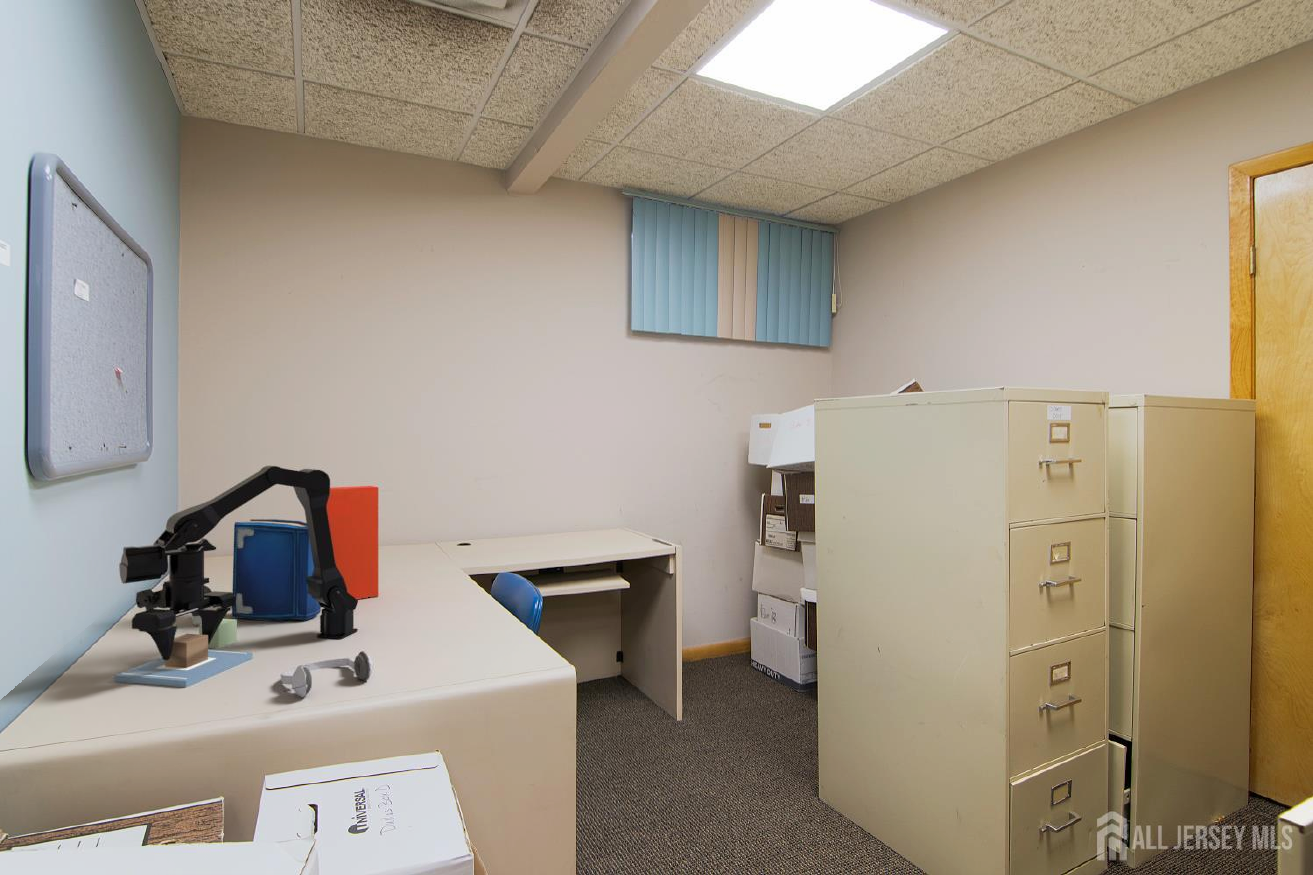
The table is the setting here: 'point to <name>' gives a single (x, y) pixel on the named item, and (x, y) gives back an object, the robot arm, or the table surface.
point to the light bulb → (196, 617)
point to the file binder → (355, 537)
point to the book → (272, 570)
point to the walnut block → (188, 651)
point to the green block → (223, 633)
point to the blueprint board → (183, 670)
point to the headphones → (302, 676)
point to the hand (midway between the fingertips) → (186, 651)
